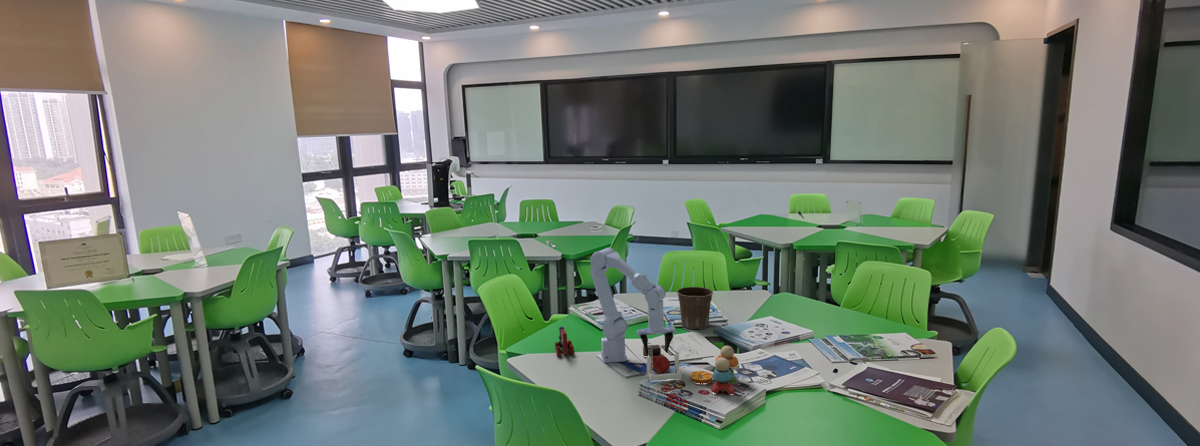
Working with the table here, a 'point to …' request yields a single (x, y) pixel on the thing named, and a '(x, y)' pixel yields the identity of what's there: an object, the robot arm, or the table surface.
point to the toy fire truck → (563, 344)
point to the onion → (662, 364)
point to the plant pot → (695, 306)
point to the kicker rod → (654, 354)
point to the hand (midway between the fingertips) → (656, 352)
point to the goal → (663, 376)
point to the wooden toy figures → (719, 372)
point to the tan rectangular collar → (648, 349)
